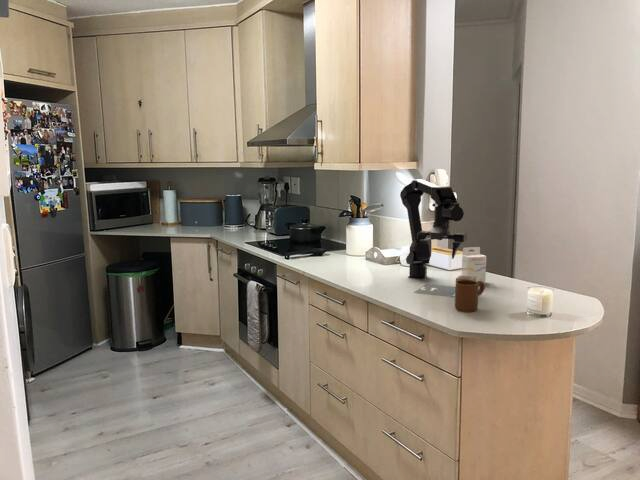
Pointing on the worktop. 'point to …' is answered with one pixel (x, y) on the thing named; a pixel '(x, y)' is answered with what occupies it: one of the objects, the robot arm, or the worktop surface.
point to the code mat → (437, 290)
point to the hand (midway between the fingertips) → (441, 257)
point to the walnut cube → (466, 278)
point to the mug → (467, 295)
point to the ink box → (474, 264)
